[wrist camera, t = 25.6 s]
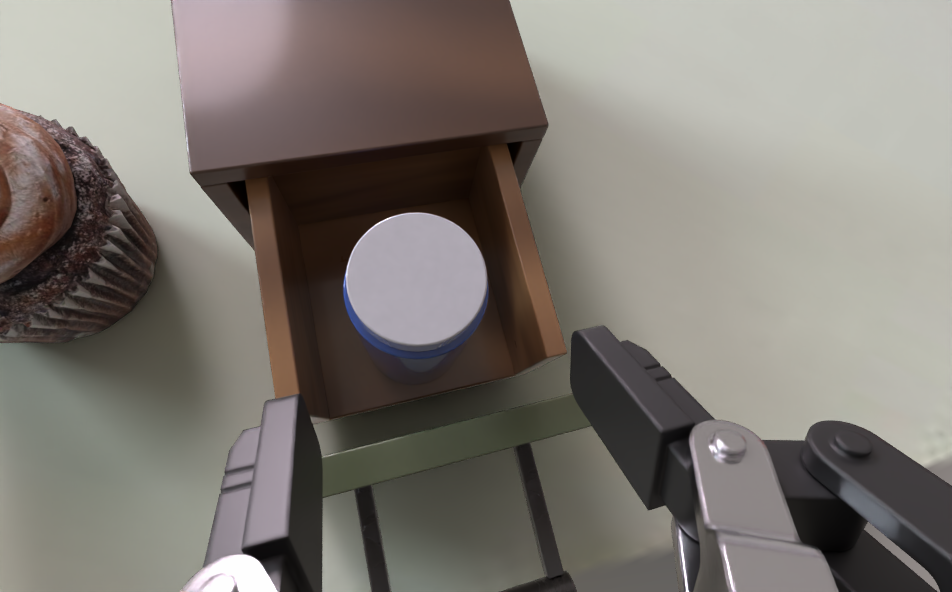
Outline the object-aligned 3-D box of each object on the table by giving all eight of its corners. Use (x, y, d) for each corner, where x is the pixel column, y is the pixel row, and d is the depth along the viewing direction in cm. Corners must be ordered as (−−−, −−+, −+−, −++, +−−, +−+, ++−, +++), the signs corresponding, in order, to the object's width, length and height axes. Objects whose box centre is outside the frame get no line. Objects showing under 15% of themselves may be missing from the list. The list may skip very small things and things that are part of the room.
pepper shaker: (357, 378, 21) (323, 342, 13) (374, 284, 23) (353, 194, 14) (456, 390, 22) (486, 363, 13) (466, 298, 23) (501, 218, 14)
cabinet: (505, 221, 27) (549, 125, 18) (264, 263, 24) (188, 174, 16) (450, 21, 30) (465, -139, 22) (232, 40, 28) (155, -132, 19)
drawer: (593, 562, 22) (673, 619, 15) (330, 648, 19) (290, 758, 13) (491, 190, 26) (518, 108, 20) (267, 225, 24) (214, 147, 17)
